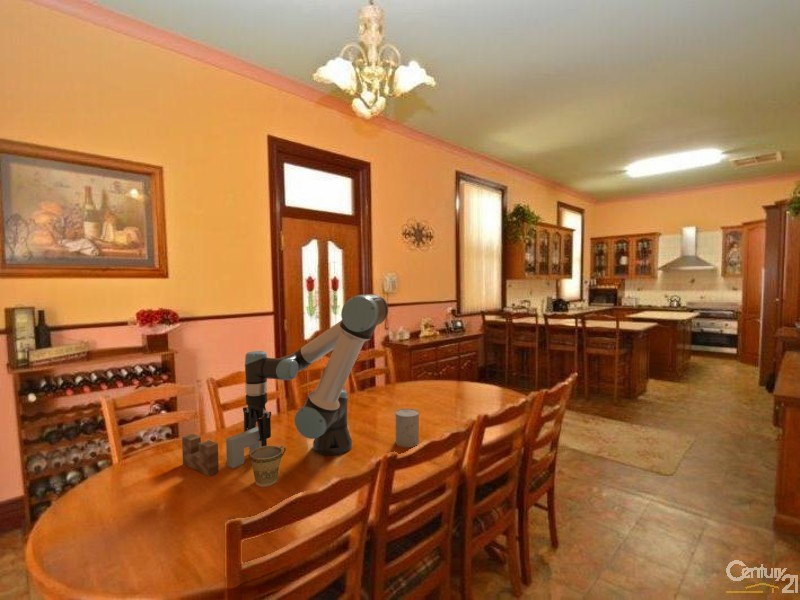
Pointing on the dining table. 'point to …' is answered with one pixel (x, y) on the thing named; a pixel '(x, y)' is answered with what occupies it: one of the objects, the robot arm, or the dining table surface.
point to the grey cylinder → (407, 427)
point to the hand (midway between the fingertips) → (257, 454)
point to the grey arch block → (241, 446)
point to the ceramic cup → (266, 464)
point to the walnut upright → (200, 454)
